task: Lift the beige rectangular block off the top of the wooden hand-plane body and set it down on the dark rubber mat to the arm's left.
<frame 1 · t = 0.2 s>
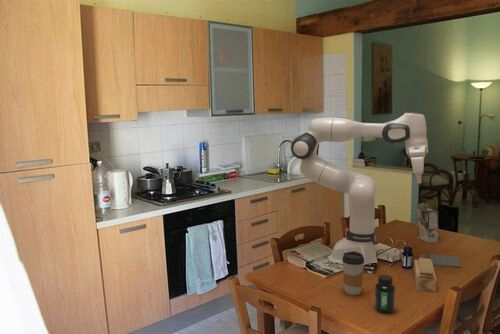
hand: (419, 181, 183), 38 cm above the table, tool pointing down, fingers open, 8 cm apart
beige rectangular block: (425, 271, 170), point 5 cm above the table, touching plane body
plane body: (424, 280, 173), on the table
coffee cup: (352, 292, 165), on the table
supplement bottle: (384, 309, 151), on the table
coffee box: (427, 240, 222), on the table
mat: (444, 261, 193), on the table
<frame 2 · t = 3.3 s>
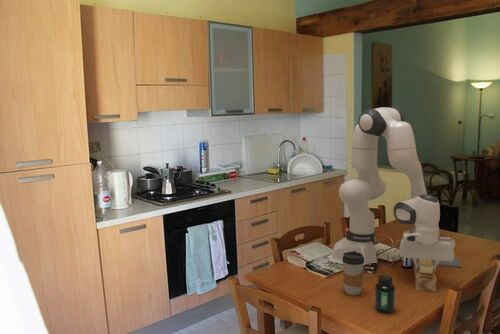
hand: (425, 269, 170), 6 cm above the table, tool pointing down, fingers closed on beige rectangular block, 4 cm apart
beige rectangular block: (425, 271, 170), point 5 cm above the table, touching gripper, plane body
everything else where it was.
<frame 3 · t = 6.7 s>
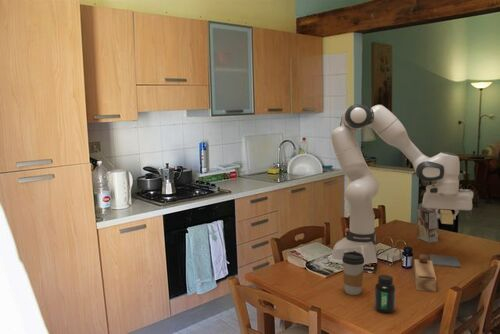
hand: (446, 218, 190), 20 cm above the table, tool pointing down, fingers closed on beige rectangular block, 4 cm apart
beige rectangular block: (446, 221, 190), point 19 cm above the table, touching gripper
everything else where it was.
when the fingers open (4 cm above the table, at t = 10.0 s): beige rectangular block drops 2 cm, resting on mat.
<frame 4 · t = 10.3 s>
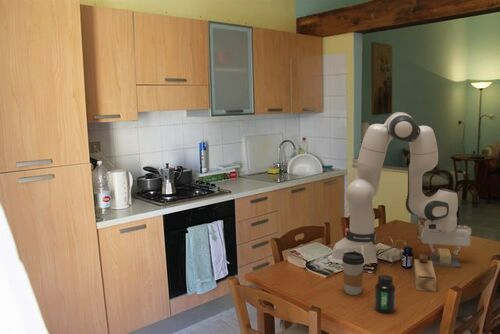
hand: (444, 253, 192), 4 cm above the table, tool pointing down, fingers open, 8 cm apart
beige rectangular block: (444, 260, 192), point 1 cm above the table, touching mat
everything else where it was.
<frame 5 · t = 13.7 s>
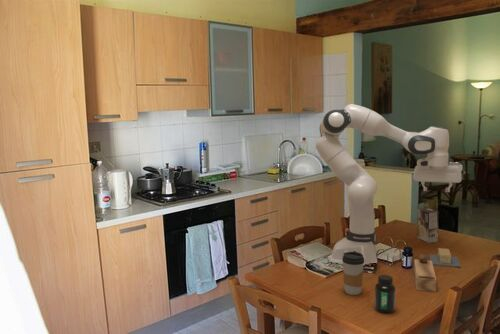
hand: (436, 191, 195), 31 cm above the table, tool pointing down, fingers open, 8 cm apart
nothing on the table moved.
at the end: beige rectangular block inside the target area on the mat (0.1 cm from its centre), point 0.6 cm above the mat's base; beige rectangular block touching mat; the gripper is holding nothing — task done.
